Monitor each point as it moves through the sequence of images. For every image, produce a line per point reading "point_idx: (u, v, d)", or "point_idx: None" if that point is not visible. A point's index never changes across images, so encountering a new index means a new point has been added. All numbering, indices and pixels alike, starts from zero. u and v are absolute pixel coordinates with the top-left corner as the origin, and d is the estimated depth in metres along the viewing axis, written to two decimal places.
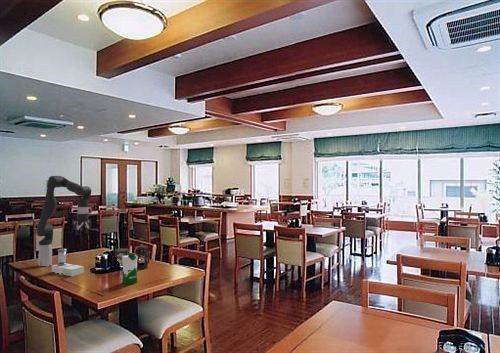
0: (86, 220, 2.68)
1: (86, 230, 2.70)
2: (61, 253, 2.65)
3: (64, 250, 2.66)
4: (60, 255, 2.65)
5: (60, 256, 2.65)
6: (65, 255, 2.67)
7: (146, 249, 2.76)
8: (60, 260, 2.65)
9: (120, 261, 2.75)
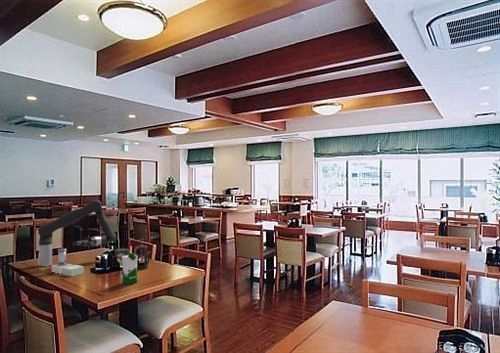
0: None
1: (75, 243, 2.82)
2: (61, 253, 2.65)
3: (64, 250, 2.66)
4: (60, 255, 2.65)
5: (60, 256, 2.65)
6: (65, 255, 2.67)
7: (146, 249, 2.76)
8: (60, 260, 2.65)
9: (120, 261, 2.75)
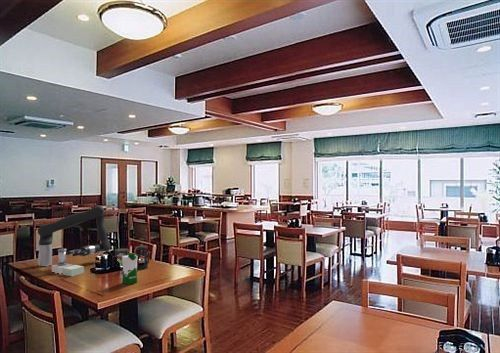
0: None
1: (68, 253, 2.76)
2: (61, 253, 2.65)
3: (64, 250, 2.66)
4: (60, 255, 2.65)
5: (60, 256, 2.65)
6: (65, 255, 2.67)
7: (146, 249, 2.76)
8: (60, 260, 2.65)
9: (120, 261, 2.75)
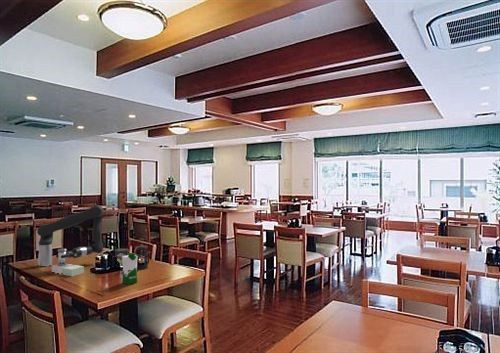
0: None
1: None
2: (61, 253, 2.65)
3: (64, 250, 2.66)
4: (60, 255, 2.65)
5: (60, 256, 2.65)
6: None
7: (146, 249, 2.76)
8: (60, 260, 2.65)
9: (120, 261, 2.75)
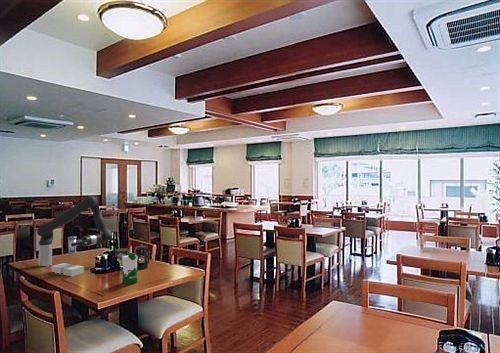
0: None
1: None
2: (71, 241, 2.60)
3: (74, 238, 2.61)
4: (70, 243, 2.60)
5: (70, 244, 2.60)
6: None
7: (146, 249, 2.76)
8: (70, 248, 2.60)
9: (120, 261, 2.75)
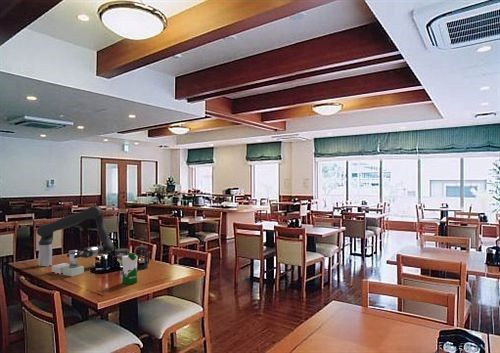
0: None
1: None
2: (72, 255, 2.59)
3: (75, 251, 2.60)
4: (71, 257, 2.59)
5: (71, 258, 2.59)
6: None
7: (146, 249, 2.76)
8: (71, 262, 2.59)
9: (120, 261, 2.75)
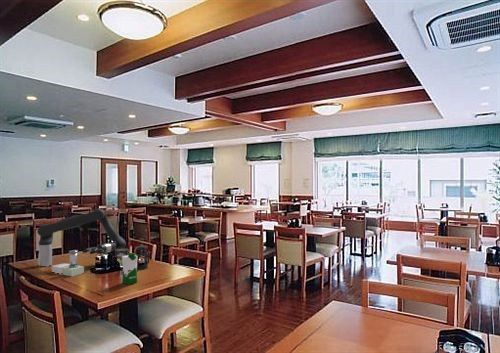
0: None
1: (85, 250, 2.75)
2: (72, 255, 2.59)
3: (75, 252, 2.60)
4: (71, 257, 2.59)
5: (71, 258, 2.59)
6: (76, 257, 2.61)
7: (146, 249, 2.76)
8: (72, 262, 2.59)
9: (120, 261, 2.75)
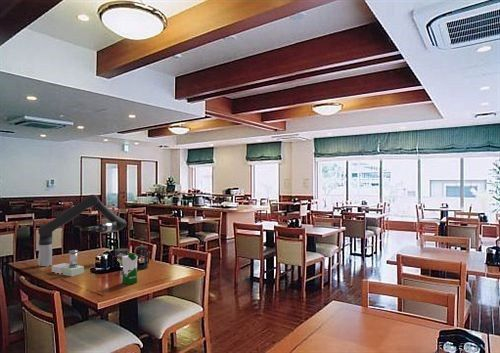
0: None
1: (87, 229, 2.82)
2: (72, 255, 2.59)
3: (75, 252, 2.60)
4: (71, 257, 2.59)
5: (71, 258, 2.59)
6: (76, 257, 2.61)
7: (146, 249, 2.76)
8: (72, 262, 2.59)
9: (120, 261, 2.75)
